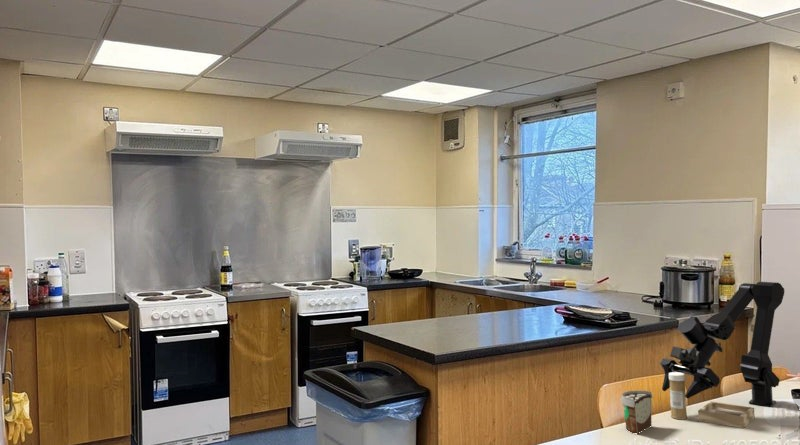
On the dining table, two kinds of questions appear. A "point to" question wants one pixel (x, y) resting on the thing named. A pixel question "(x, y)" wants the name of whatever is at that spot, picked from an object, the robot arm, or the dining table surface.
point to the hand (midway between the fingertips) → (674, 393)
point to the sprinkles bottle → (677, 395)
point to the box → (726, 414)
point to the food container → (637, 410)
